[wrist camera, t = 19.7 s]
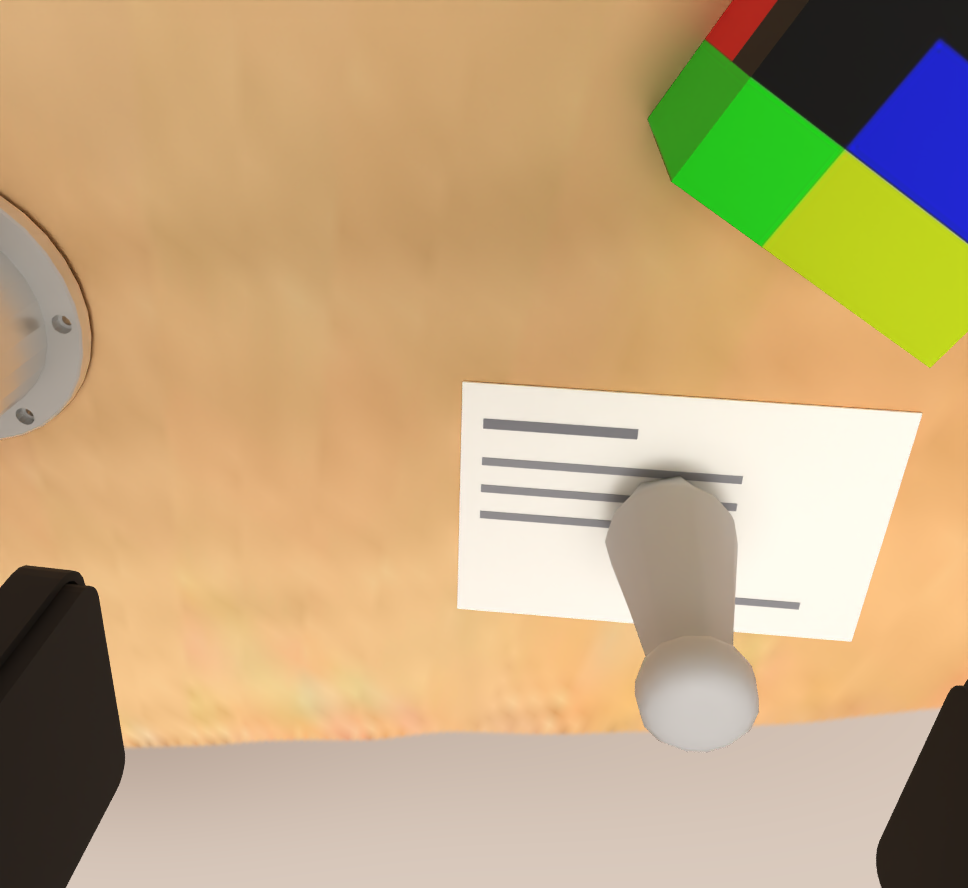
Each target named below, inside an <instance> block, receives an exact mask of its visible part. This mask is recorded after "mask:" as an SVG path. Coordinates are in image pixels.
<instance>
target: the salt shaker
mask: <svg viewBox="0 0 968 888" xmlns="http://www.w3.org/2000/svg"><path fill="white" fill-rule="evenodd" d="M605 544H606V548H607V551H608V555H609V558H610V562H611V565H612V568H613V570H614V573H615V575H616V578H617V580H618V583H619V586H620V588H621V591H622V593H623V596H624V598H625V601H626V603H627V606H628V608H629V611H630V614H631V617H632V619H633V622H634V625H635V628H636V631H637V633H638V636H639V639H640V642H641V645H642V647H643V650H644V653H645V656H646V657H645V658H644V660H643V663H642V665H641V668H640V670H639V673H638V675H637V678H636V681H635V697H636V700H637V704H638V708H639V711H640V715H641V718H642V721H643V724H644V727H645V728H646V729H647V730H648V731H649V732H650V733H651V734H652V735H653V736H654V737H655V738H657V740H658V741H660V742H663V743H665V744H668V745H671V746H673V747H676V748H678V749H681V750H684V751H691V752H710V751H714V750H717V749H721V748H724V747H727V746H729V745H731V744H732V743H734V742H735V741H736V740H738V739H739V738H740V737H742V736H743V735H744V734H746V733H747V732H749V731H750V730H751V728H752V725H753V723H754V721H755V719H756V717H757V715H758V712H759V698H758V692H757V685H756V679H755V675H754V672H753V669H752V666H751V665H750V663H749V662H748V661H747V660H746V659H745V658H744V657H743V656H742V655H741V654H740V652H739V651H738V650H737V649H736V648H735V647H734V646H733V631H734V612H735V592H736V573H737V554H738V541H737V535H736V529H735V522H734V519H733V517H732V516H731V514H730V513H729V512H728V510H727V509H726V508H725V507H724V506H723V505H722V504H721V502H720V501H719V500H718V499H717V498H716V497H715V495H713V494H710V493H708V492H706V491H704V490H701V489H699V488H697V487H695V486H693V485H692V484H690V483H689V482H688V481H686V480H685V479H683V478H682V477H681V476H677V477H671V478H666V479H660V480H655V481H649V482H643V483H640V484H639V486H638V487H637V488H636V490H635V491H634V492H633V494H632V495H631V496H630V497H629V498H628V499H627V500H626V501H625V502H624V503H623V504H622V505H621V506H620V507H619V508H618V509H617V510H616V511H615V512H614V515H613V518H612V521H611V524H610V527H609V530H608V532H607V535H606V540H605Z"/></svg>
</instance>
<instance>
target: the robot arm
mask: <svg viewBox="0 0 968 888" xmlns="http://www.w3.org/2000/svg"><path fill="white" fill-rule="evenodd" d="M90 354H91V330H90V323H89V316H88V311H87V308H86V305H85V302H84V299H83V296H82V293H81V290H80V287H79V285H78V283H77V281H76V279H75V278H74V276H73V274H72V272H71V270H70V268H69V266H68V265H67V263H66V261H65V259H64V258H63V257H62V255H61V254H60V253H59V251H58V250H57V249H56V247H55V246H54V245H53V243H52V242H51V241H50V239H49V238H48V237H47V235H46V234H45V233H44V232H43V231H42V230H41V229H39V228H38V227H37V226H36V225H35V224H34V223H33V222H32V221H31V220H30V219H29V218H28V217H27V216H26V215H25V214H24V213H23V212H22V211H20V210H19V209H18V208H16V207H15V206H14V205H12V204H11V203H9V202H8V201H7V200H5V199H4V198H3V197H1V196H0V440H2V439H6V438H11V437H16V436H21V435H24V434H27V433H29V432H31V431H33V430H35V429H38V428H40V427H42V426H44V425H45V424H46V423H47V422H49V421H50V420H51V419H53V418H54V417H55V416H56V415H58V414H59V413H60V412H61V411H62V410H63V409H64V408H65V407H66V406H67V405H68V404H69V403H70V402H71V401H72V400H73V399H74V397H75V395H76V394H77V392H78V390H79V389H80V387H81V385H82V383H83V382H84V379H85V376H86V372H87V369H88V366H89V362H90ZM124 764H125V751H124V745H123V739H122V733H121V727H120V721H119V715H118V709H117V703H116V697H115V691H114V685H113V679H112V673H111V667H110V661H109V655H108V649H107V643H106V637H105V631H104V625H103V619H102V614H101V608H100V602H99V596H98V593H97V590H96V589H95V588H94V587H92V586H85V583H84V580H83V577H82V576H81V575H80V573H79V572H76V571H71V570H62V569H54V568H45V567H36V566H27V565H25V566H22V567H19V568H18V569H17V570H16V571H15V572H14V573H13V574H12V575H11V576H10V577H9V578H8V579H7V580H6V582H5V583H4V584H3V585H2V586H1V587H0V888H66V886H67V884H68V882H69V880H70V878H71V876H72V875H73V872H74V871H75V869H76V867H77V865H78V863H79V861H80V859H81V857H82V855H83V853H84V851H85V850H86V848H87V846H88V844H89V842H90V840H91V838H92V836H93V834H94V832H95V831H96V829H97V827H98V825H99V823H100V821H101V819H102V817H103V815H104V813H105V811H106V809H107V808H108V806H109V804H110V802H111V800H112V798H113V796H114V794H115V792H116V790H117V788H118V786H119V784H120V781H121V778H122V774H123V770H124ZM876 866H877V874H878V877H879V881H880V884H881V887H882V888H968V680H967V681H966V683H965V684H964V686H955V687H953V688H952V689H951V690H950V692H949V693H948V695H947V697H946V699H945V701H944V703H943V706H942V708H941V710H940V712H939V714H938V717H937V718H936V721H935V723H934V725H933V727H932V729H931V732H930V734H929V736H928V738H927V740H926V742H925V745H924V747H923V749H922V751H921V753H920V755H919V757H918V759H917V762H916V764H915V766H914V768H913V771H912V772H911V775H910V777H909V779H908V781H907V783H906V785H905V787H904V790H903V792H902V794H901V796H900V798H899V800H898V803H897V805H896V807H895V809H894V811H893V813H892V816H891V817H890V820H889V822H888V824H887V826H886V828H885V830H884V833H883V835H882V837H881V839H880V841H879V844H878V848H877V854H876Z"/></svg>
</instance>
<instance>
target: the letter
mask: <svg viewBox="0 0 968 888" xmlns="http://www.w3.org/2000/svg"><path fill="white" fill-rule="evenodd" d="M921 416H922V413H921V412H907V411H892V410H877V409H863V408H848V407H834V406H819V405H804V404H790V403H775V402H760V401H746V400H731V399H717V398H702V397H687V396H673V395H658V394H643V393H629V392H614V391H600V390H585V389H570V388H556V387H541V386H526V385H512V384H497V383H482V382H468V381H463V385H462V428H461V471H460V514H459V557H458V600H457V609H469V610H481V611H493V612H505V613H517V614H528V615H540V616H552V617H564V618H576V619H588V620H600V621H612V622H624V623H634V622H633V619H632V617H631V614H630V611H629V608H628V606H627V603H626V601H625V598H624V596H623V593H622V591H621V588H620V586H619V583H618V580H617V578H616V575H615V573H614V570H613V568H612V565H611V562H610V558H609V555H608V551H607V548H606V544H605V540H606V535H607V532H608V530H609V527H610V524H611V521H612V518H613V515H614V512H615V511H616V510H617V509H618V508H619V507H620V506H621V505H622V504H623V503H624V502H625V501H626V500H627V499H628V498H629V497H630V496H631V495H632V494H633V492H634V491H635V490H636V488H637V487H638V486H639V484H640V483H643V482H649V481H655V480H660V479H666V478H671V477H677V476H681V477H682V478H683V479H685V480H686V481H688V482H689V483H690V484H692V485H693V486H695V487H697V488H699V489H701V490H704V491H706V492H708V493H710V494H713V495H715V497H716V498H717V499H718V500H719V501H720V502H721V504H722V505H723V506H724V507H725V508H726V509H727V510H728V512H729V513H730V514H731V516H732V517H733V519H734V522H735V529H736V535H737V541H738V554H737V573H736V592H735V612H734V631H733V632H743V633H755V634H767V635H779V636H791V637H803V638H815V639H827V640H839V641H852V638H853V635H854V632H855V628H856V625H857V622H858V619H859V616H860V612H861V609H862V606H863V603H864V599H865V596H866V593H867V590H868V587H869V583H870V580H871V577H872V574H873V571H874V567H875V564H876V561H877V558H878V554H879V551H880V548H881V545H882V542H883V538H884V535H885V532H886V529H887V526H888V522H889V519H890V516H891V513H892V510H893V506H894V503H895V500H896V497H897V493H898V490H899V487H900V484H901V481H902V477H903V474H904V471H905V468H906V465H907V461H908V458H909V455H910V452H911V449H912V445H913V442H914V439H915V436H916V432H917V429H918V426H919V423H920V420H921Z"/></svg>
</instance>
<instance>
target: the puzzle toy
mask: <svg viewBox="0 0 968 888" xmlns="http://www.w3.org/2000/svg"><path fill="white" fill-rule="evenodd" d="M648 122H649V125H650V127H651V130H652V132H653V135H654V138H655V140H656V143H657V146H658V148H659V151H660V154H661V156H662V159H663V161H664V164H665V167H666V169H667V172H668V175H669V177H670V180H671V182H672V183H674V184H675V185H677V186H678V187H679V188H681V189H682V190H684V191H685V192H686V193H688V194H689V195H690V196H692V197H693V198H695V199H696V200H697V201H699V202H700V203H702V204H703V205H704V206H706V207H707V208H708V209H710V210H711V211H713V212H714V213H715V214H717V215H718V216H720V217H721V218H722V219H724V220H725V221H727V222H728V223H729V224H731V225H732V226H733V227H735V228H736V229H738V230H739V231H740V232H742V233H743V234H745V235H746V236H747V237H749V238H750V239H752V240H753V241H754V242H756V243H757V244H758V245H760V246H761V247H763V248H764V249H765V250H767V251H768V252H770V253H771V254H772V255H774V256H775V257H776V258H778V259H779V260H781V261H782V262H783V263H785V264H786V265H788V266H789V267H790V268H792V269H793V270H795V271H796V272H797V273H799V274H800V275H801V276H803V277H804V278H806V279H807V280H808V281H810V282H811V283H813V284H814V285H815V286H817V287H818V288H820V289H821V290H822V291H824V292H825V293H826V294H828V295H829V296H831V297H832V298H833V299H835V300H836V301H838V302H839V303H840V304H842V305H843V306H845V307H846V308H847V309H849V310H850V311H851V312H853V313H854V314H856V315H857V316H858V317H860V318H861V319H863V320H864V321H865V322H867V323H868V324H869V325H871V326H872V327H874V328H875V329H876V330H878V331H879V332H881V333H882V334H883V335H885V336H886V337H888V338H889V339H890V340H892V341H893V342H894V343H896V344H897V345H899V346H900V347H901V348H903V349H904V350H906V351H907V352H908V353H910V354H911V355H913V356H914V357H915V358H917V359H918V360H919V361H921V362H922V363H924V364H925V365H926V366H928V367H929V368H930V367H931V366H933V365H934V364H935V363H936V362H937V361H938V360H939V359H940V358H941V357H942V356H943V355H944V354H945V353H946V352H947V351H948V350H949V349H950V348H951V347H952V346H953V345H954V344H955V343H956V342H957V341H958V340H959V339H961V338H962V337H963V336H964V335H965V334H966V333H967V332H968V0H733V1H732V2H731V3H730V5H729V6H728V8H727V9H726V10H725V12H724V13H723V15H722V16H721V17H720V19H719V20H718V22H717V23H716V24H715V26H714V27H713V28H712V30H711V31H710V33H709V34H708V35H707V37H706V38H705V40H704V41H703V42H702V44H701V45H700V47H699V48H698V49H697V51H696V52H695V54H694V55H693V56H692V58H691V59H690V60H689V62H688V63H687V65H686V66H685V67H684V69H683V70H682V72H681V73H680V74H679V76H678V77H677V79H676V80H675V81H674V83H673V84H672V85H671V87H670V88H669V90H668V91H667V92H666V94H665V95H664V97H663V98H662V99H661V101H660V102H659V104H658V105H657V106H656V108H655V109H654V110H653V112H652V113H651V115H650V116H649V117H648Z"/></svg>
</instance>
